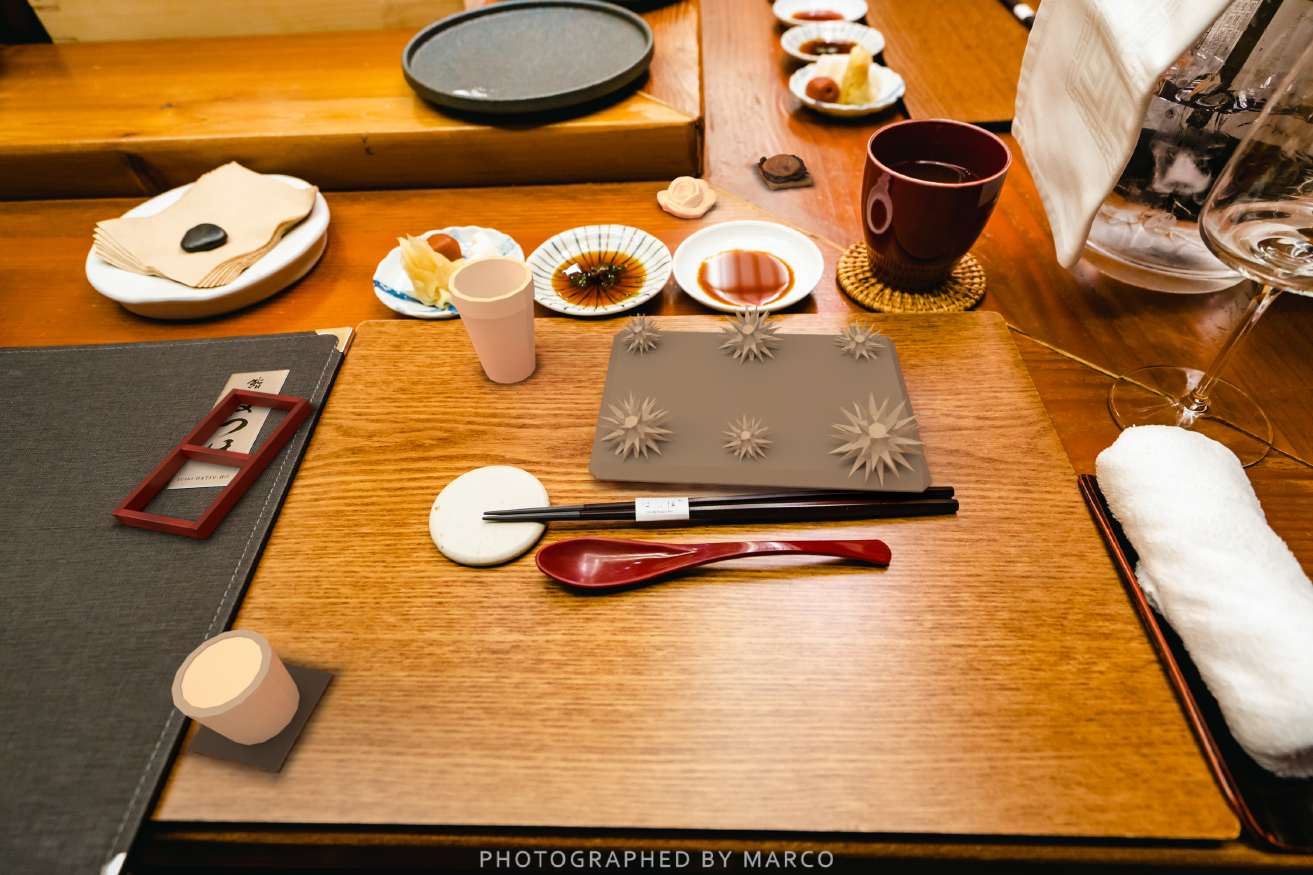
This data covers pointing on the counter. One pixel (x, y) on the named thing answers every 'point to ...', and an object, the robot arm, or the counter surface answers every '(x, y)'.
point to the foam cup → (498, 314)
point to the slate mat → (279, 746)
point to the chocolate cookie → (783, 171)
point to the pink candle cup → (237, 687)
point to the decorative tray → (758, 409)
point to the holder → (193, 450)
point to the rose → (687, 197)
